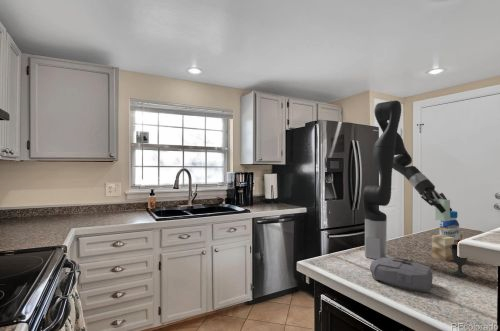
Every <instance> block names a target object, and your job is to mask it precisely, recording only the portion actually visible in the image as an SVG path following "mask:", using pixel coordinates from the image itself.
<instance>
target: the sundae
mask: <svg viewBox="0 0 500 331" xmlns="http://www.w3.org/2000/svg"><path fill="white" fill-rule="evenodd" d="M462 236H463V235H460V234H459V237H460V238H459V239H458V240H457V241H456V242H454V244H453V245H451V246H450V248H451V250H452V256H453V262H454V264H456V265H457V270H456V271H451V274H452V275H455V276H456V277H463V278H467V277H468V276H469V275H468V274H467V273H465V272H463V270H462V269H463V266H465V265H466V264H467V262H468V257H467V258H460V257H458V256H457V244H458V242H459V241H461V238H463V237H462Z"/></svg>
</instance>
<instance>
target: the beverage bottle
mask: <svg viewBox="0 0 500 331" xmlns="http://www.w3.org/2000/svg"><path fill="white" fill-rule="evenodd" d="M457 218H458V211H456V210H452V211H451V212H450V221H441V220H439V223H438V224H439V227H438V230H439V235H444V236H448V237H453V238H454V242H456V241H457V240H458V239H460V231H461V230H460V223H459V221H458V220H457Z"/></svg>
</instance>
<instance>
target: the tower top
mask: <svg viewBox="0 0 500 331" xmlns="http://www.w3.org/2000/svg"><path fill="white" fill-rule="evenodd" d="M453 244H454V238H453V237H448V236H444V235H440V234H437V235H436V234H435V235H431V247H432V246H433V247H436V248H440V249H444V250H448V249H451V248H450V246H451V245H453Z"/></svg>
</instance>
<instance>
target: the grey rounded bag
mask: <svg viewBox="0 0 500 331" xmlns="http://www.w3.org/2000/svg"><path fill="white" fill-rule="evenodd" d="M369 270H370V272H371V277H372V278H373V279H375V280H376V281H380V282H382V283H384V284H386V285H389V286H393V287H397V288H399V289H404V290H409V291H414V292H422V293H429V291H430V290H431V288H432V286H433V281H434V280H433V279H434V277H433V275H434V274H433V270H432V269H431V267H430V266H428V265H424V264H422V263H418V262H416V261H413V260H408V258H399V257H392V256H391V257H388V256H386V257H385V258H379V259H373V261H371V264H370V265H369Z"/></svg>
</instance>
